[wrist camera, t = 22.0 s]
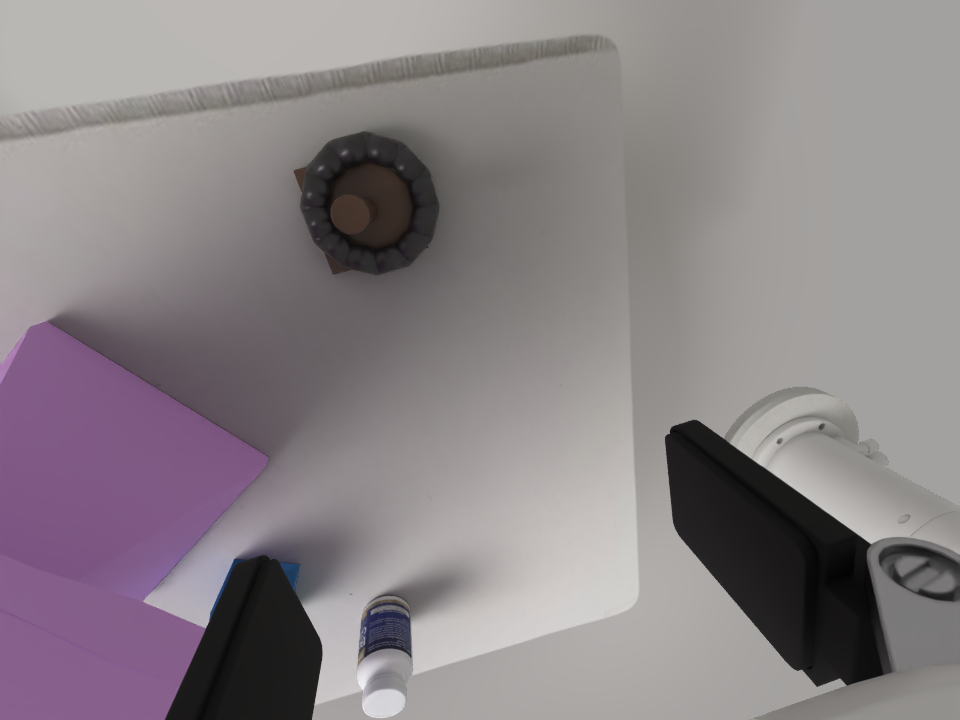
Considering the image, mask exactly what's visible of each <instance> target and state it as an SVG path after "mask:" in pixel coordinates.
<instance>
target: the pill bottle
mask: <svg viewBox="0 0 960 720" xmlns="http://www.w3.org/2000/svg"><path fill="white" fill-rule="evenodd" d="M412 672H413V659H412V637H411V611H410V607H409V605H408V604H407V603H406V602H405V601H404V600H403V599H401V598H399V597H396V596H383V597H380V598H377V599H375V600H373V601H372V602H370V603H369V604H368V605H367V606H366V607H365V609H364V611H363V613H362V619H361V630H360V640H359V654H358V666H357V679H358V683H359V685H360V687H361V688H362V689H363V704H362V706H363V710H364V712H365V713H366V714H367V715H369V716H371V717H374V718H386V717H390V716H393V715H395V714H397V713H398V712H399V711H401V710H402V709H403V708H404V706H405V704H406V690H407V688H406V685H407V684H408V682H409V681H410V679H411V676H412Z"/></svg>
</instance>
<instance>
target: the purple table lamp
mask: <svg viewBox="0 0 960 720" xmlns="http://www.w3.org/2000/svg"><path fill="white" fill-rule="evenodd" d="M268 460H269V457H268V456H266V455H264V454H263V453H261V452H260V451H258V450H256V449H255V448H253V447H251V446H250V445H248V444H246V443H245V442H243V441H242V440H240V439H238V438H237V437H235V436H233V435H232V434H230V433H228V432H227V431H225V430H224V429H222V428H220V427H219V426H217V425H215V424H214V423H212V422H211V421H209V420H207V419H206V418H204V417H202V416H201V415H199V414H197V413H196V412H194V411H193V410H191V409H189V408H188V407H186V406H184V405H183V404H181V403H179V402H178V401H176V400H175V399H173V398H171V397H170V396H168V395H166V394H165V393H163V392H162V391H160V390H158V389H157V388H155V387H153V386H152V385H150V384H148V383H147V382H145V381H144V380H142V379H140V378H139V377H137V376H135V375H134V374H132V373H131V372H129V371H127V370H126V369H124V368H122V367H121V366H119V365H117V364H116V363H114V362H113V361H111V360H109V359H108V358H106V357H104V356H103V355H101V354H99V353H98V352H96V351H95V350H93V349H91V348H90V347H88V346H86V345H85V344H83V343H82V342H80V341H78V340H77V339H75V338H73V337H72V336H70V335H68V334H67V333H65V332H64V331H62V330H60V329H59V328H57V327H55V326H54V325H52V324H50V323H49V322H47V321H46V322H43V323H40V324H37V325H34V326H31V327H30V328H29V329H28V330H27V332H26V333H25V334H24V336H23V337H22V338H21V339H20V341H19V342H18V343H17V345H16V346H15V347H14V348H13V350H12V351H11V352H10V354H9V355H8V356H7V357H6V359H5V360H4V361H3V363H2V364H1V365H0V720H165V718H166V716H167V713H168V711H169V709H170V707H171V705H172V702H173V700H174V698H175V696H176V694H177V691H178V689H179V687H180V685H181V683H182V680H183V678H184V676H185V674H186V672H187V669H188V667H189V665H190V663H191V661H192V658H193V656H194V654H195V652H196V650H197V647H198V645H199V643H200V641H201V639H202V636H203V634H204V632H205V630H206V629H205V628H203V627H200V626H198V625H196V624H193V623H191V622H189V621H186V620H184V619H182V618H179V617H177V616H175V615H172V614H170V613H168V612H165V611H163V610H161V609H158V608H156V607H154V606H151V605H149V604H147V603H144V602H142V601H143V600H144V599H145V598H146V597H147V596H148V595H149V594H150V593H151V592H152V590H153V589H154V588H155V587H156V586H157V585H158V584H159V583H160V582H161V581H162V580H163V578H164V577H165V576H166V575H167V574H168V573H169V572H170V571H171V570H172V569H173V567H174V566H175V565H176V564H177V563H178V562H179V561H180V560H181V559H182V558H183V557H184V555H185V554H186V553H187V552H188V551H189V550H190V549H191V548H192V547H193V546H194V544H195V543H196V542H197V541H198V540H199V539H200V538H201V537H202V536H203V535H204V533H205V532H206V531H207V530H208V529H209V528H210V527H211V526H212V525H213V524H214V523H215V521H216V520H217V519H218V518H219V517H220V516H221V515H222V514H223V513H224V512H225V510H226V509H227V508H228V507H229V506H230V505H231V504H232V503H233V502H234V501H235V499H236V498H237V497H238V496H239V495H240V494H241V493H242V492H243V491H244V490H245V489H246V487H247V486H248V485H249V484H250V483H251V482H252V481H253V480H254V479H255V478H256V476H257V475H258V474H259V473H260V472H261V471H262V470H263V469H264V468H265V466H266V464H267V462H268Z"/></svg>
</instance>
